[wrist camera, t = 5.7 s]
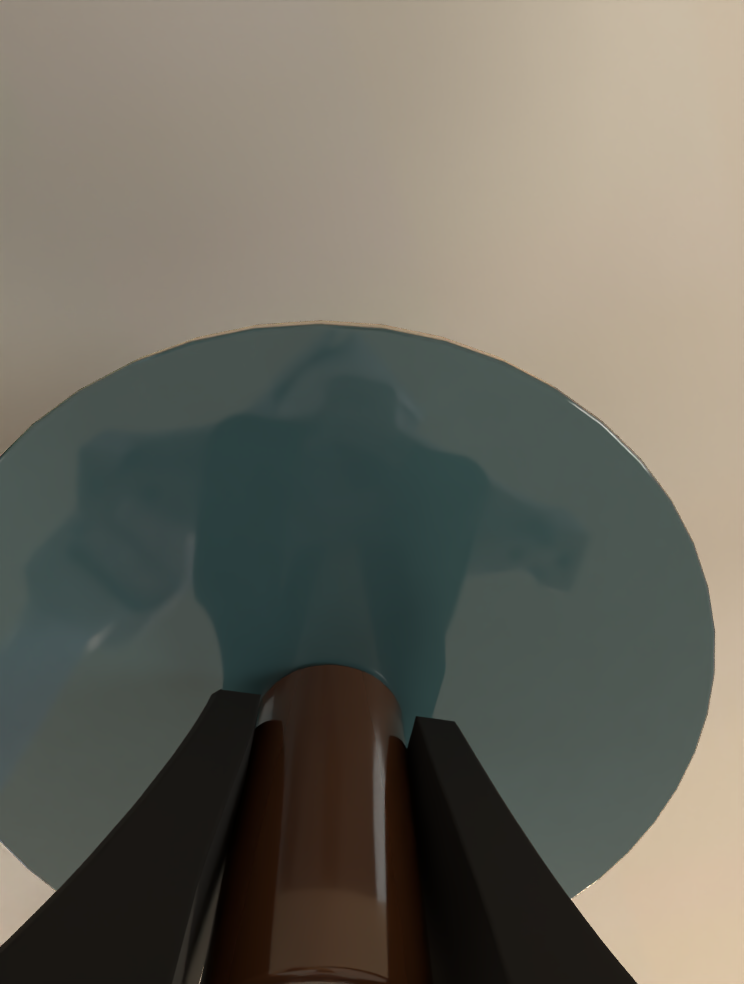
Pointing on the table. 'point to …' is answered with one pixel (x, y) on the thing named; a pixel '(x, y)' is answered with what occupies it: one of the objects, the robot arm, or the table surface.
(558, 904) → the robot arm
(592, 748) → the pot lid
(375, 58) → the table surface
